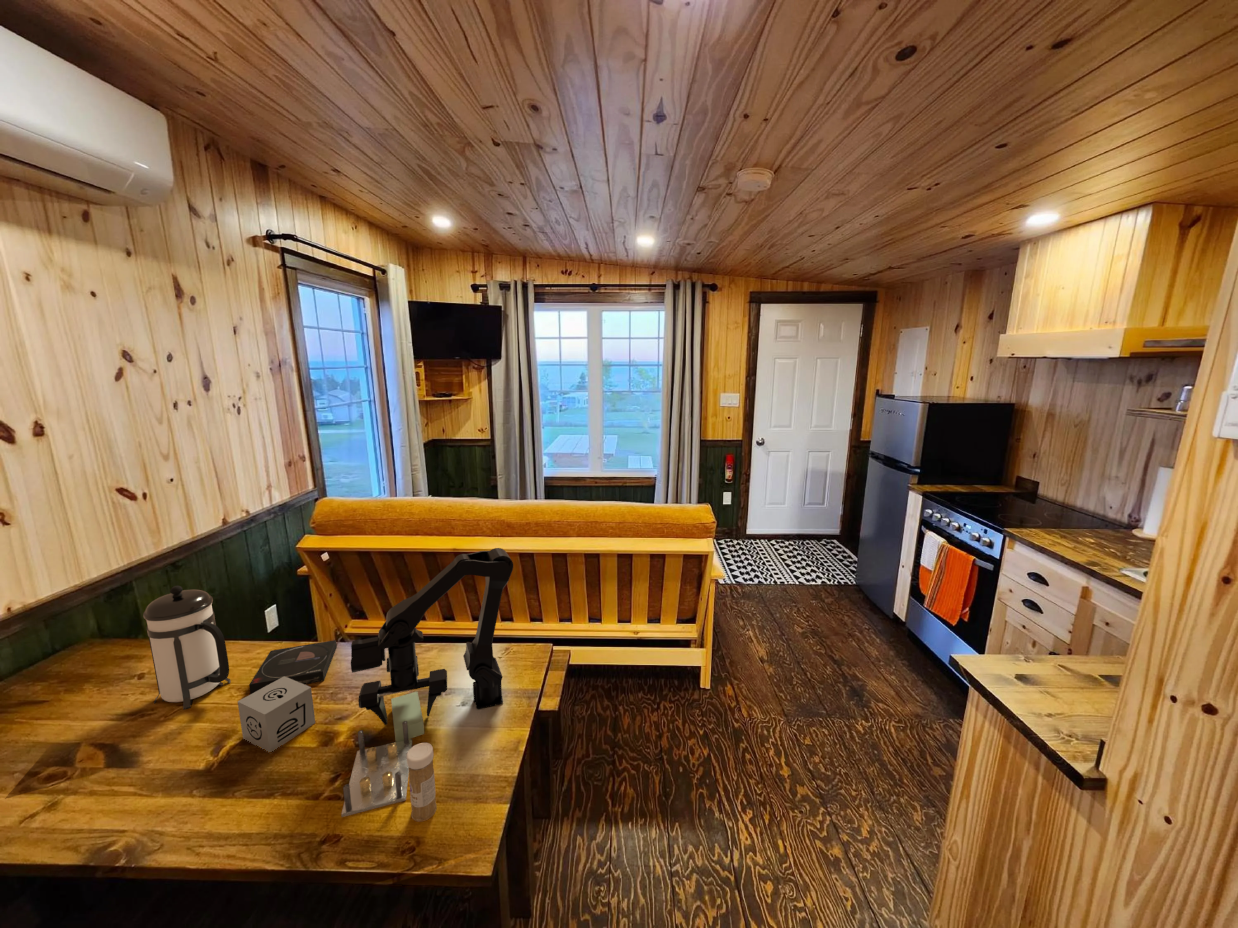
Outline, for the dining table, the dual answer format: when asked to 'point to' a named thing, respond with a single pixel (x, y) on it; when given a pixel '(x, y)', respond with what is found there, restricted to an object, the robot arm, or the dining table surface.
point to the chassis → (378, 776)
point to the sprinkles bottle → (421, 781)
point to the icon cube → (276, 713)
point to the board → (407, 715)
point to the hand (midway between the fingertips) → (407, 719)
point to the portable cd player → (295, 664)
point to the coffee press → (186, 645)
